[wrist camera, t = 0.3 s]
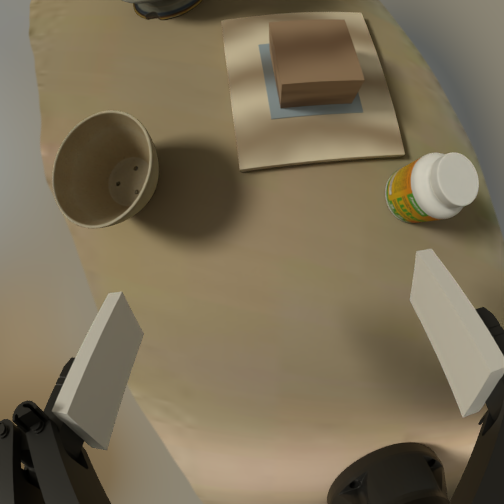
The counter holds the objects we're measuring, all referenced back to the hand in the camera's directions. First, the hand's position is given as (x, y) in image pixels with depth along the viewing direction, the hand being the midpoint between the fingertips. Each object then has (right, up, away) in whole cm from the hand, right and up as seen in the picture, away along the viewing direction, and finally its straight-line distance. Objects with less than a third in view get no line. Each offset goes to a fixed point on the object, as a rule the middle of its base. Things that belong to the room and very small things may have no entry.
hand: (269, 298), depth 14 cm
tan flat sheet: (+5, +19, +15) cm, 25 cm away
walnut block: (+5, +19, +14) cm, 24 cm away
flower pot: (-13, +9, +17) cm, 23 cm away
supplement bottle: (+15, +7, +15) cm, 22 cm away
